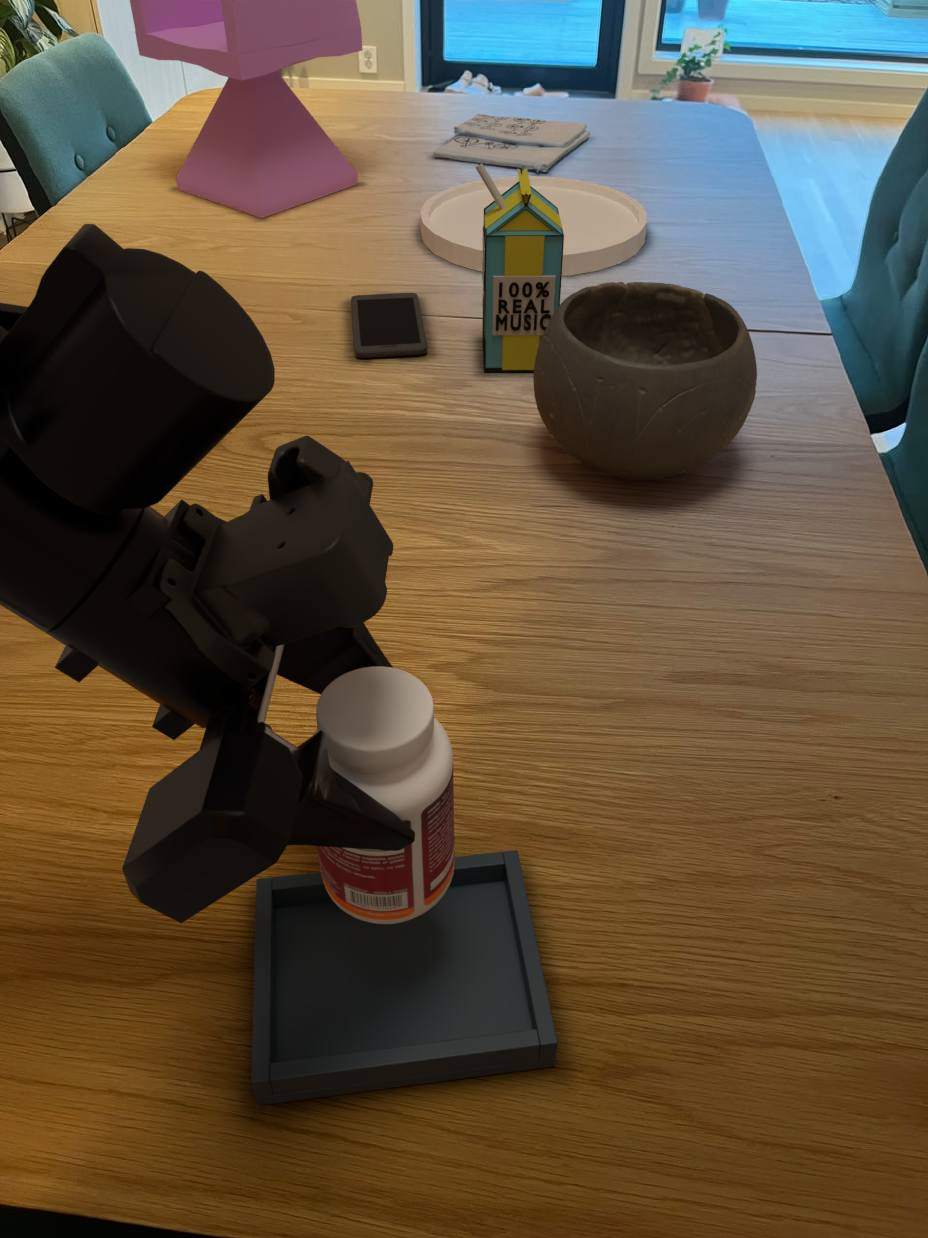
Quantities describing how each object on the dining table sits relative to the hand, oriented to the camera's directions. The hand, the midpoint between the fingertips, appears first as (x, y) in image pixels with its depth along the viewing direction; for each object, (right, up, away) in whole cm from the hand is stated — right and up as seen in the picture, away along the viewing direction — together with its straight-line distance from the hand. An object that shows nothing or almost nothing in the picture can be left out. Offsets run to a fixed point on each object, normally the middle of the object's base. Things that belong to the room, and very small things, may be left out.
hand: (413, 780), depth 43 cm
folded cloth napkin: (+9, +78, +111) cm, 136 cm away
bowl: (+17, +21, +45) cm, 52 cm away
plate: (+11, +55, +84) cm, 101 cm away
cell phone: (-6, +37, +64) cm, 74 cm away
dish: (-1, -11, +8) cm, 13 cm away
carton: (+7, +33, +59) cm, 68 cm away
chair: (-25, +66, +98) cm, 121 cm away
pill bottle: (-1, -5, +5) cm, 7 cm away
